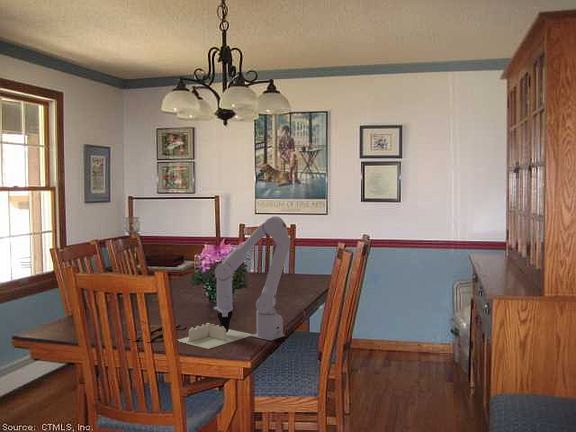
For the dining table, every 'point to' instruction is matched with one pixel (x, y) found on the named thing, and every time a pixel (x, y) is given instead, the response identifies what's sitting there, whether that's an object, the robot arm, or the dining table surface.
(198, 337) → the fence post and fixed panel
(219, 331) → the folding fence panel
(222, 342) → the card
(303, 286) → the dining table surface
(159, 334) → the decorative fence
